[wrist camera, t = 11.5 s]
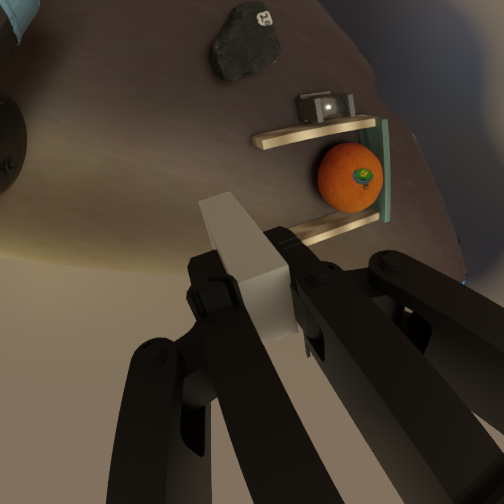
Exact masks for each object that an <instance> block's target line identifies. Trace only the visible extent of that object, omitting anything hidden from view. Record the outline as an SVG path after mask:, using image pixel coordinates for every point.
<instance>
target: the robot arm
mask: <svg viewBox="0 0 504 504" xmlns="http://www.w3.org/2000/svg"><path fill="white" fill-rule="evenodd" d="M39 6H40V0H0V74H1V72H2V70H3V68H4V66H5V65H6V63H7V61H8V59H9V58H10V56H11V54H12V53H13V51H14V49H15V48H16V46H18V45H19V44H20V42H21V39H22V35H23V34H24V32H25V31H26V29H27V27H28V26H29V24H30V23H31V21H32V20H33V18H34V17H35V15H36V14H37V12H38V10H39ZM26 142H27V136H26V127H25V123H24V119H23V116H22V114H21V112H20V110H19V108H18V107H17V105H16V104H15V103H14V102H13V101H12V100H11V99H9V98H8V97H6V96H4V95H0V194H1V193H3V192H4V191H5V190H7V189H8V188H9V187H10V186H11V185H12V183H13V182H14V181H15V179H16V178H17V176H18V174H19V172H20V170H21V167H22V165H23V161H24V158H25V153H26ZM198 203H199V206H200V209H201V212H202V215H203V219H204V222H205V225H206V228H207V231H208V234H209V237H210V241H211V244H212V247H213V250H212V251H209V252H207V253H204V254H201V255H198V256H195V257H192V258H191V259H190V262H189V264H188V267H187V268H188V273H189V276H190V281H191V286H190V288H189V290H188V291H187V296H186V299H187V301H188V304H189V305H190V308H191V310H192V312H193V314H194V316H195V318H196V323H195V324H194V326H193V328H192V329H191V330H190V331H189V332H188V333H186V334H185V335H184V336H182V337H180V338H179V339H177V340H176V341H174V342H173V341H172V340H169V339H167V338H158V337H157V338H154V339H150V340H148V341H146V342H145V343H143V344H142V345H140V346H139V347H138V348H137V350H136V351H135V352H134V354H133V356H132V358H131V362H130V366H129V371H128V375H127V379H126V383H125V388H124V392H123V398H122V402H121V407H120V412H119V417H118V423H117V428H116V433H115V439H114V446H113V451H112V458H111V466H110V472H109V481H108V489H107V498H106V504H212V487H211V401H212V400H214V399H215V398H217V397H218V401H219V404H220V407H221V410H222V414H223V417H224V420H225V423H226V426H227V430H228V432H229V436H230V439H231V442H232V445H233V448H234V451H235V453H236V456H237V459H238V462H239V465H240V468H241V471H242V473H243V476H244V479H245V481H246V484H247V487H248V489H249V492H250V495H251V497H252V500H253V502H254V504H345V503H344V501H343V500H342V498H341V496H340V494H339V492H338V490H337V489H336V487H335V485H334V483H333V481H332V479H331V477H330V476H329V474H328V472H327V470H326V468H325V466H324V464H323V463H322V461H321V459H320V457H319V455H318V453H317V451H316V449H315V447H314V445H313V443H312V441H311V439H310V438H309V436H308V434H307V432H306V430H305V428H304V426H303V424H302V422H301V420H300V418H299V416H298V414H297V412H296V410H295V408H294V406H293V404H292V403H291V400H290V398H289V396H288V394H287V392H286V390H285V388H284V386H283V384H282V382H281V380H280V378H279V376H278V374H277V372H276V370H275V368H274V366H273V364H272V362H271V359H270V357H269V355H268V353H267V351H266V349H265V347H264V346H265V345H268V344H270V343H273V342H275V341H278V340H280V339H283V338H285V337H287V336H290V335H292V334H295V333H297V332H299V331H298V324H297V322H298V323H299V325H300V327H301V328H302V330H303V333H304V341H305V349H306V354H307V357H310V356H311V355H310V351H311V353H312V355H313V356H314V357H315V359H316V361H317V363H318V364H319V366H320V368H321V369H322V371H323V372H324V374H325V376H326V377H327V379H328V381H329V382H330V384H331V385H332V387H333V389H334V390H335V392H336V393H337V395H338V397H339V398H340V400H341V401H342V403H343V405H344V406H345V408H346V410H347V411H348V413H349V415H350V416H351V418H352V419H353V421H354V423H355V424H356V426H357V427H358V429H359V430H360V432H361V434H362V436H363V437H364V439H365V440H366V442H367V443H368V445H369V447H370V448H371V450H372V452H373V453H374V455H375V457H376V458H377V460H378V461H379V463H380V465H381V466H382V468H383V469H384V471H385V473H386V474H387V476H388V477H389V479H390V481H391V482H392V484H393V486H394V487H395V489H396V490H397V492H398V494H399V495H400V496H401V498H402V500H403V502H404V503H405V504H504V453H503V452H502V451H501V449H500V448H499V447H498V445H497V444H496V443H495V441H494V440H493V439H492V437H491V436H490V435H489V433H488V432H487V431H486V430H485V428H484V427H483V426H482V424H481V423H480V422H479V421H478V420H477V418H476V417H475V416H474V414H473V413H472V412H474V413H475V414H476V415H478V416H479V417H480V418H482V419H483V420H484V421H486V422H487V423H488V424H490V425H491V426H493V427H494V428H495V429H496V430H498V431H499V432H501V433H502V434H503V435H504V308H503V307H501V306H500V305H498V304H496V303H495V302H493V301H491V300H490V299H488V298H486V297H484V296H483V295H481V294H479V293H477V292H475V291H474V290H472V289H470V288H468V287H467V286H465V285H463V284H461V283H459V282H458V281H456V280H454V279H452V278H450V277H448V276H447V275H445V274H443V273H441V272H439V271H437V270H435V269H433V268H431V267H429V266H428V265H426V264H424V263H422V262H420V261H418V260H416V259H414V258H412V257H410V256H408V255H406V254H404V253H401V252H398V251H394V250H384V251H379V252H377V253H375V254H373V255H372V256H371V258H370V259H369V264H368V268H362V269H356V270H347V271H343V270H342V269H341V268H340V267H339V266H337V265H336V264H334V263H331V262H327V261H320V260H319V259H318V258H317V257H316V255H315V254H314V253H313V252H312V251H311V250H310V249H309V248H308V247H307V246H306V245H305V244H304V243H302V241H301V240H300V239H299V238H297V236H296V235H295V234H294V233H293V232H292V231H291V230H289V229H286V228H284V227H281V226H279V227H276V228H273V229H270V230H267V231H264V232H262V231H261V230H260V228H259V227H258V226H257V225H256V223H255V222H254V221H253V220H252V218H251V217H250V216H249V215H248V213H247V212H246V211H245V210H244V208H243V207H242V206H241V205H240V203H239V202H238V201H237V200H236V198H235V197H234V196H233V195H232V193H231V192H230V191H228V192H225V193H222V194H219V195H216V196H213V197H210V198H207V199H204V200H201V201H198ZM405 307H407V308H409V309H410V310H412V311H413V313H409V312H407V311H405ZM470 410H471V411H472V412H471V411H470Z"/></svg>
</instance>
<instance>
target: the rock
mask: <svg viewBox="0 0 504 504" xmlns="http://www.w3.org/2000/svg"><path fill="white" fill-rule="evenodd" d="M211 52H212V57H211V60H210V62H211V65H212V67H213V69H214V71H215V73H216V74H218V75H220V77H221V78H223V80H231V81H236V80H238V79H239V78H240V77H241V75H244V74H247V73H250V72H257V71H263V70H265V69H266V68H268V67H270V66H271V65H272V64H273V63H275V62H276V60H277V58H278V57H279V56H280V54H281V53H282V51H281V48H280V44H279V41H278V39H277V35H276V32H275V28H274V26H273V22H272V19H271V16H270V14H269V11H268V9H267V7H266V6H265V4H263V3H261V2H258V1H256V2H253V1H247V2H244V3H242V4H241V5H239V6H237V7H234V8H233V10H232V12H231V14H230V18H229V21H228V22H227V23H226V24H225V25H224V26H223V28H222V30H221V31H220V33H219V36H218V37H217V38H216V40H215V41H214V44H213V46H212V48H211Z"/></svg>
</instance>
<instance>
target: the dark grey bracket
mask: <svg viewBox="0 0 504 504" xmlns="http://www.w3.org/2000/svg"><path fill="white" fill-rule="evenodd" d="M295 100H296V106H297V111H298V117H299V119H300V120H302V121H303V122H307V121H311V122H316V123H321V122H324V121H323V120H327V119H332V118H338V117H343V116H346V117H356V116H355V108H354V101H353V94H339V93H330V91H325V92H317V93H309V94H303V95H298V98H295Z"/></svg>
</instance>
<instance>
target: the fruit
mask: <svg viewBox="0 0 504 504" xmlns="http://www.w3.org/2000/svg"><path fill="white" fill-rule="evenodd" d="M382 185H383V172H382V166H381V164H380V161H379V160H378V158H377V157H376V156H375V155H374V154H373V153H372V152H371V151H370V150H369V149H368V148H367V147H365V146H363V145H361V144H358V143H342V144H338V145H336V146H334V147H332V148H331V149H330V150H329V151H328V152H327V153H326V155H325V157H324V158H323V160H322V162H321V164H320V167H319V170H318V187H319V191H320V193H321V195H322V197H323V198H324V200H325V201H326V202H327V203H328V204H330V205H331V206H332V207H334V208H335V209H337V210H339V211H341V212H344V213H356V212H359V211H362V210H364V209H366V208H367V207H369V206H370V205H371V204H373V202H374V201H375V200H376V199H377V197H378V195H379V193H380V191H381V188H382Z"/></svg>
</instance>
